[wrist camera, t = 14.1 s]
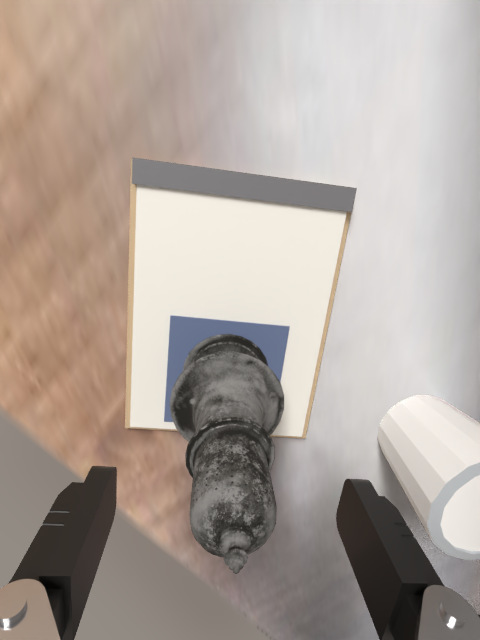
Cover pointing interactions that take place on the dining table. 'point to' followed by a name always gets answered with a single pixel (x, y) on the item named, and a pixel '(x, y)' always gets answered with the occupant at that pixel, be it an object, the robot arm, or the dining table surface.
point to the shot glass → (437, 469)
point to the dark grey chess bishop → (229, 444)
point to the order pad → (229, 278)
